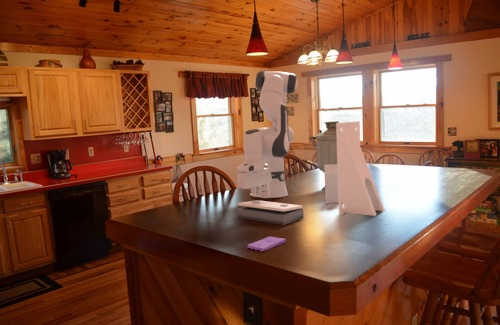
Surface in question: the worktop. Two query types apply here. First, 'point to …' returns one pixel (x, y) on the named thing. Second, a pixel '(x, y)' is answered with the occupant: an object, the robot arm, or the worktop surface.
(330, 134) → the samovar
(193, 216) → the worktop surface
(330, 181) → the milk carton
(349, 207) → the white bracket plate
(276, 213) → the shallow grey box
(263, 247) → the sponges
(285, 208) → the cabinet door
